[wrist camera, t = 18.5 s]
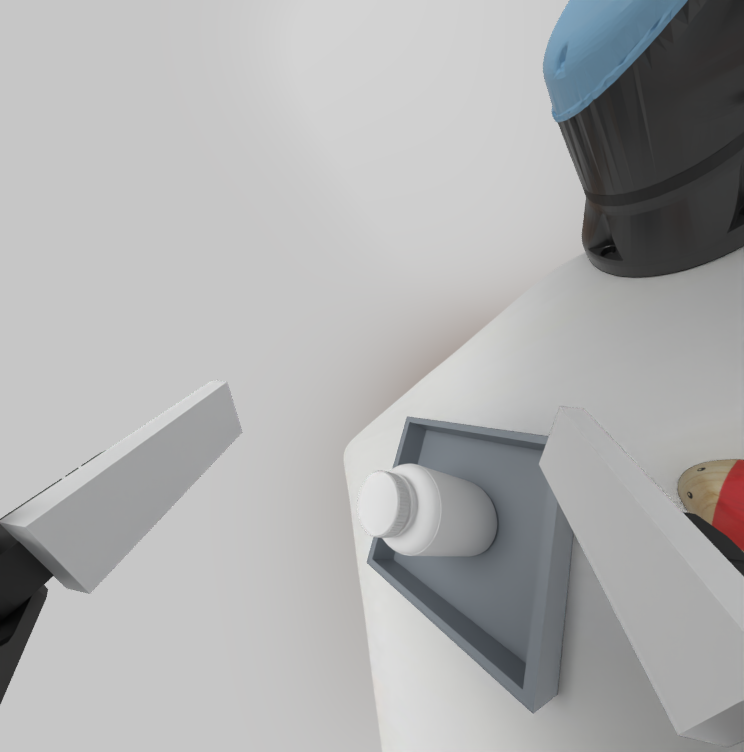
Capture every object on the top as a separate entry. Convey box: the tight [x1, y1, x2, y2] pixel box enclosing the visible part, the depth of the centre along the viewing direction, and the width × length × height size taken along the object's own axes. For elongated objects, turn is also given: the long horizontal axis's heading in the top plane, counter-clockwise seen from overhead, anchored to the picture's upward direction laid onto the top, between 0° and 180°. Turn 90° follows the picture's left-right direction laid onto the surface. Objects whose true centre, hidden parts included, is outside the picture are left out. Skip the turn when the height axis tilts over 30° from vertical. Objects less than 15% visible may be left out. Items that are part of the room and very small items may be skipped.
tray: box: [367, 417, 573, 713], centre depth 31 cm, size 20×20×5 cm
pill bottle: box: [357, 464, 497, 557], centre depth 27 cm, size 8×8×15 cm
